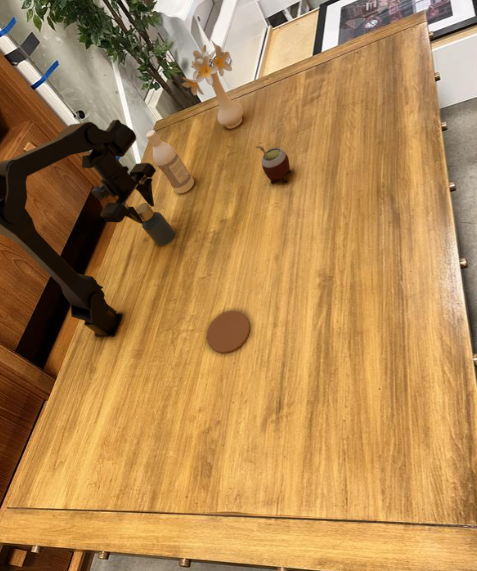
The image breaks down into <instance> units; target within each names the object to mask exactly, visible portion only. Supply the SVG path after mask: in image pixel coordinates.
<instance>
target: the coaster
mask: <svg viewBox="0 0 477 571" xmlns="http://www.w3.org/2000/svg"><path fill="white" fill-rule="evenodd" d="M250 332H251V324H250V320H249V319H248V317H247V316H246V315H245V314H244V313H243V312H241V311H237V310H227V311H225V312H222V313H221V314H219V315H217V316H216V317H214V319H213V320H212V321H211V322H210V324H209V326H208V328H207V331H206V341H207V344H208V346H209V347H210V348H211V349H212V350H213V351H215V352H217V353H220V354H228V353H232V352H235V351H236V350H238V349H239V348H241V347H242V346H243V345H244V344H245V343H246V341H247V340H248V338H249V335H250Z"/></svg>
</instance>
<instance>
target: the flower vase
mask: <svg viewBox="0 0 477 571" xmlns="http://www.w3.org/2000/svg"><path fill="white" fill-rule="evenodd" d="M210 41H211V44H212V46H213V48H214V50H213V51H211V52H210V53H209V51H207V45H206V44H203V45H202V48H201V50H200V51H201V52H200V51H199V50H196V49H195V50H193V52H192V55H193V57H194V60H191V66H190V67H191V68H192V69H193V70H194V72H193V74H192V79H191V78H187V77H184V76H183V77H182V79H183V80H184V81H185V82H182V83H181V86H183V87H184V88H190V92H191V94H192V95H193V96H197V94H198V93H199V94H200V95H201V96H204V95H205V93H204V92H203V90H202V88H201V87H200V85H199V83H201V82H202V81H203V80H204V79H205V81H206V84H208V85H210V86H211V87H212V88H213V89H212V90H213V91H214V94H215V96H216V99H217V101H218V110H217V114H216V119H217V122H218V124H219V125H221V126H223V127H225V128H226V129H231V130H232V129H234V128H236V127H238V126H239V125H240V124H241V123H242V121H243V116H244V108H243V106H242V105H241V104H240V103H239V102H237V101H234V100H232V99H231V97H229V95H228V93H227V92H226V91H225V89H224V86H223V84H222V82H221V80H220V77H223V76H224V75H225V71H226V72H232V71H233V68H232V66H231V65H230V63H228V60H229V59H230V57H231V54H230V52H229V51H225V52H224V50H223V48H222V47H221V46H220V45H217V44H216V43H215V42H214V40H212V39H210ZM219 76H220V77H219Z"/></svg>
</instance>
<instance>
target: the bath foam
mask: <svg viewBox="0 0 477 571" xmlns="http://www.w3.org/2000/svg"><path fill="white" fill-rule="evenodd" d="M145 137H146V139H147V140H148V142H149V144H151V146H152V158H153V161H154V163H155V164H156V166H157V167H158V169H159V171H160V172H161V173H162V175H163V176H164V178H165V179H166V180H167V182H168V183H169V185H170V186H171V188H172V189H173V190H174V192H175V193H177V194H184V193H186V192H188V191H190V190H191V189H193V187H194V185H195V179H194V178H193V176H192V174H191V173H190V171H189V169H188V168H187V166H186V165H185V163H184V162H183V160H182V158H181V156H180V155H179V154H178V152H177V150H176V149H175V148H174V147H173V146H172V145H171V144H169V143H167V142H165V141H163V140H162V139H160V136H159V135H158V133H157V132H156V130H154V129H151V130H149V131H147V133H146V134H145Z"/></svg>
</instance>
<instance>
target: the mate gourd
mask: <svg viewBox="0 0 477 571" xmlns="http://www.w3.org/2000/svg"><path fill="white" fill-rule="evenodd" d="M255 148H257V149H260V151H261V152H262V153H263V155H262V158H261V166H262V170H263V172H264V173H265V176H266V177H267V178H268V180H269V181H270V184H271V185H274V184H275V183H277V182H279V181H281V182H283V183H284V185H285V184H287V183H288V180H287V179H286V177H287V176H288V175H290V174H292V170H291V169H290V159H289V156H288V155H287V153H286V151H284V150H283V149H282V148H280V147H273V148H270V149H268V150H265V148H264V146H262V145H256V146H255Z"/></svg>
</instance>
